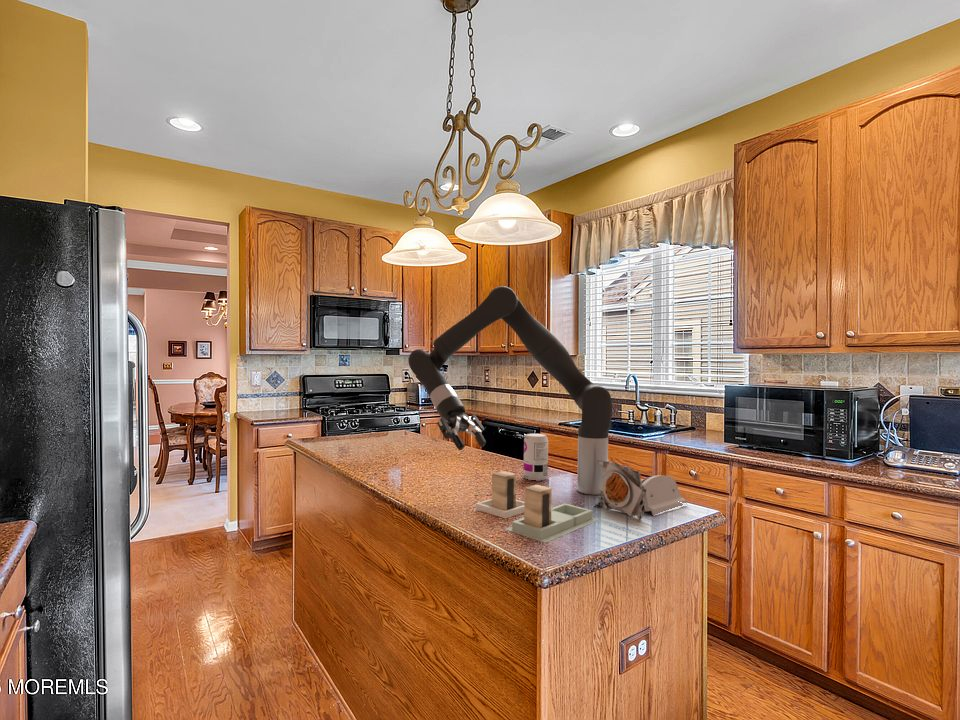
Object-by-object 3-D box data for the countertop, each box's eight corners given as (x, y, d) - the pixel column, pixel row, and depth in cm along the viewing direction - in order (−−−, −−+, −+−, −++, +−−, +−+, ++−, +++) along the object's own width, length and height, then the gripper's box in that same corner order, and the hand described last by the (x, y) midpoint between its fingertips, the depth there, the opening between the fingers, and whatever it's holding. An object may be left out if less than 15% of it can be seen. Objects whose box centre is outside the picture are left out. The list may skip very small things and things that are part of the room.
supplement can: (521, 480, 170) (521, 436, 170) (526, 474, 178) (527, 432, 178) (545, 482, 168) (545, 437, 168) (549, 476, 176) (549, 433, 176)
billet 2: (535, 525, 122) (536, 484, 122) (551, 530, 118) (552, 488, 118) (524, 530, 118) (524, 487, 118) (539, 535, 115) (540, 491, 115)
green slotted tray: (560, 512, 136) (561, 501, 136) (600, 523, 127) (600, 511, 127) (504, 533, 119) (504, 520, 119) (545, 547, 111) (545, 533, 111)
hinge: (653, 516, 133) (643, 478, 136) (639, 518, 137) (629, 481, 139) (688, 506, 143) (677, 470, 146) (673, 507, 147) (664, 473, 149)
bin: (502, 504, 142) (502, 495, 142) (531, 513, 134) (531, 504, 134) (475, 512, 134) (475, 503, 134) (505, 522, 127) (505, 512, 127)
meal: (591, 507, 141) (592, 460, 140) (601, 505, 143) (602, 459, 143) (636, 522, 128) (637, 471, 128) (646, 519, 131) (647, 469, 131)
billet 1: (502, 507, 138) (503, 471, 137) (515, 511, 134) (516, 474, 134) (491, 511, 134) (492, 473, 134) (504, 515, 131) (505, 476, 131)
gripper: (435, 395, 143) (461, 441, 135) (470, 393, 153) (497, 436, 146) (422, 412, 147) (448, 457, 139) (458, 409, 157) (483, 451, 149)
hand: (473, 446), depth 142 cm, fingers open, 8 cm apart
